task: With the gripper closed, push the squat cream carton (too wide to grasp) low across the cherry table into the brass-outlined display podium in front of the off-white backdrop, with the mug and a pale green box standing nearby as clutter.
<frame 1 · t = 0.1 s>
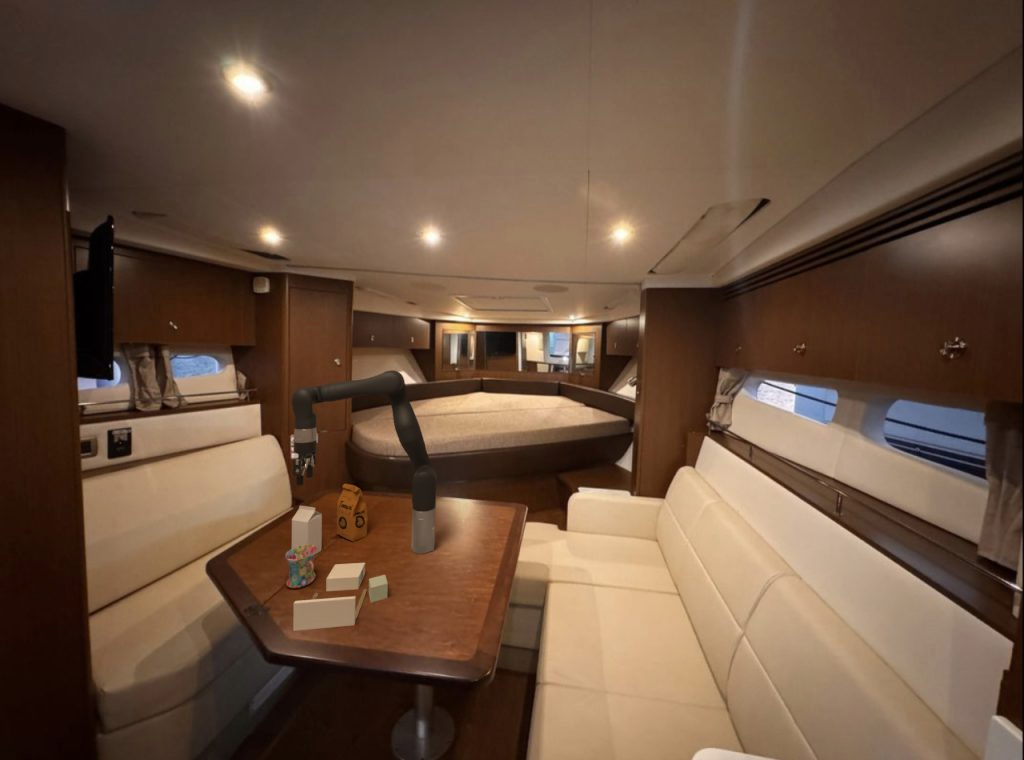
hand: (305, 481, 128), 29 cm above the table, fingers open, 8 cm apart
carton: (346, 583, 114), on the table
mug: (303, 584, 113), on the table
backdrop: (324, 626, 95), on the table
coffee package: (352, 535, 144), on the table
milk carton: (306, 554, 129), on the table
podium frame: (334, 607, 102), on the table
green box: (377, 595, 108), on the table
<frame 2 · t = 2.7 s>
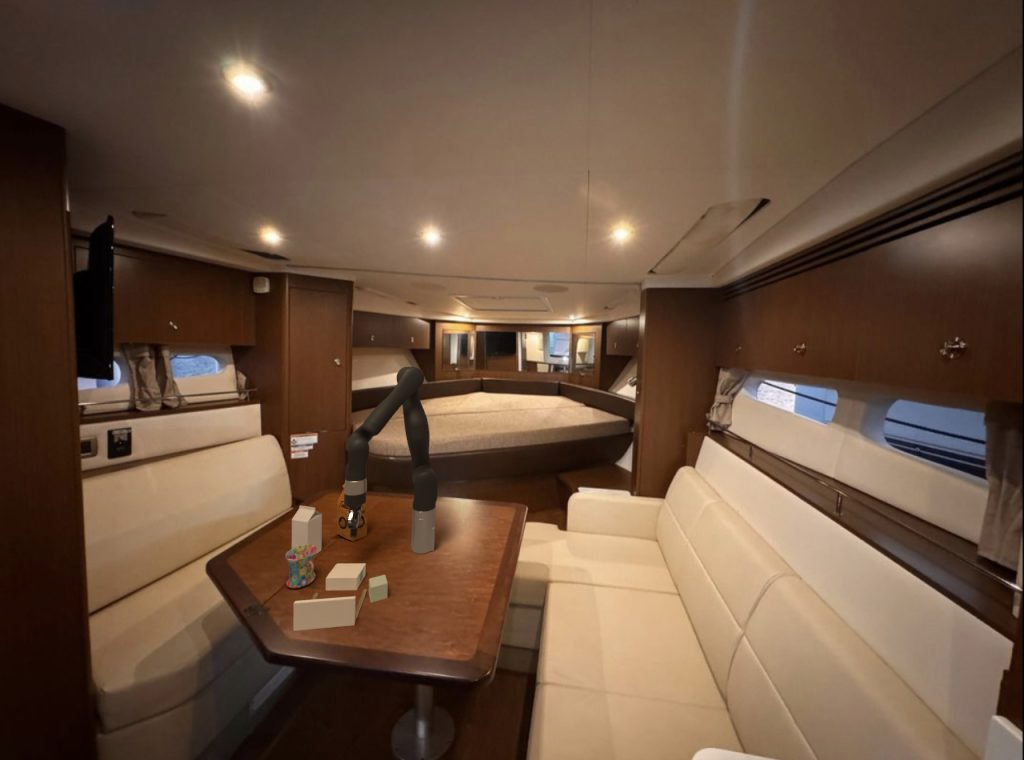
hand: (353, 536, 122), 11 cm above the table, fingers closed
nothing on the table moved.
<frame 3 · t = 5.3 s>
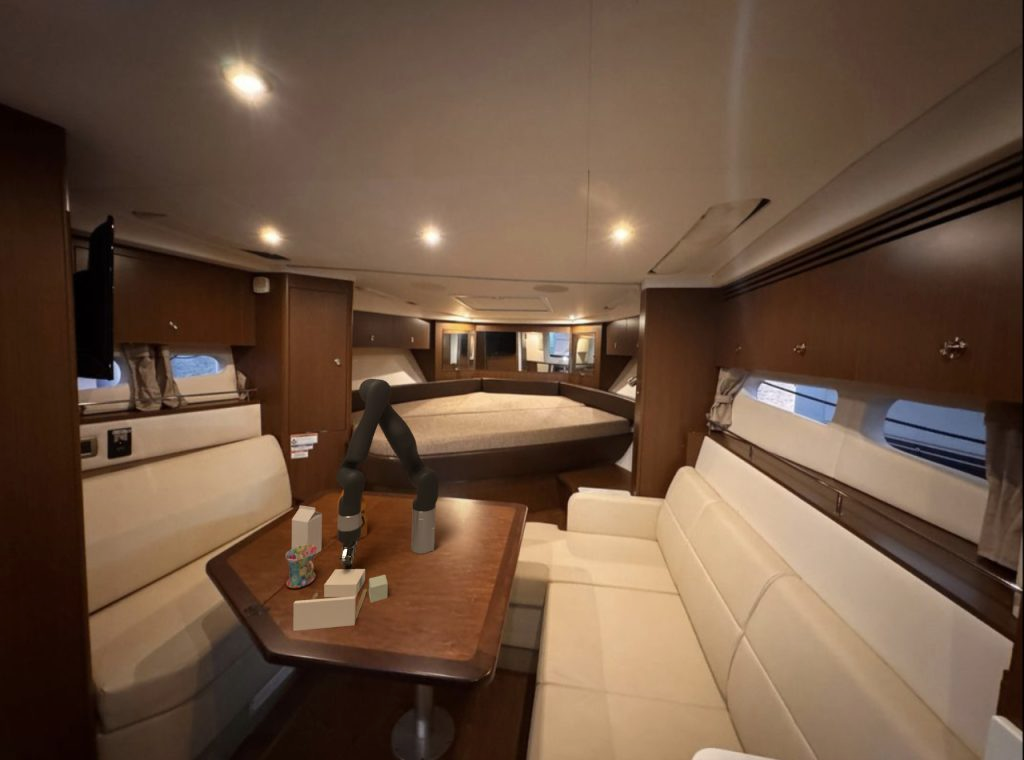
hand: (348, 572, 117), 1 cm above the table, fingers closed
carton: (345, 589, 111), on the table
everything else where it was.
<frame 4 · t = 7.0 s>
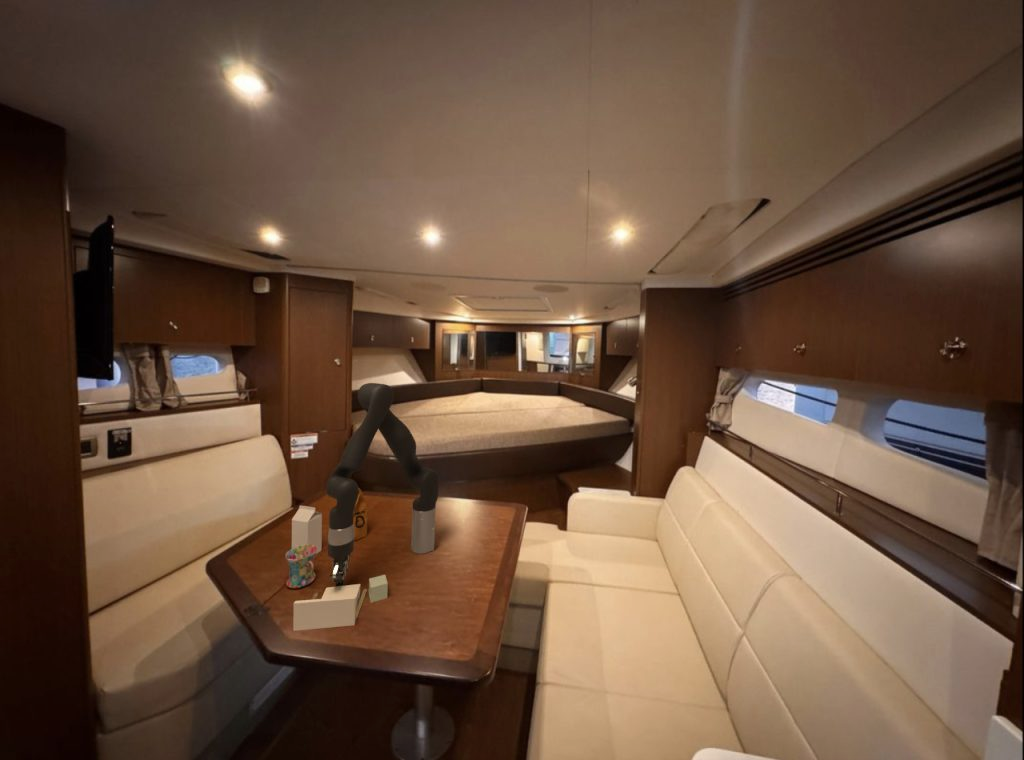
hand: (340, 589, 108), 1 cm above the table, fingers closed
carton: (340, 608, 103), on the table, touching gripper
everything else where it was.
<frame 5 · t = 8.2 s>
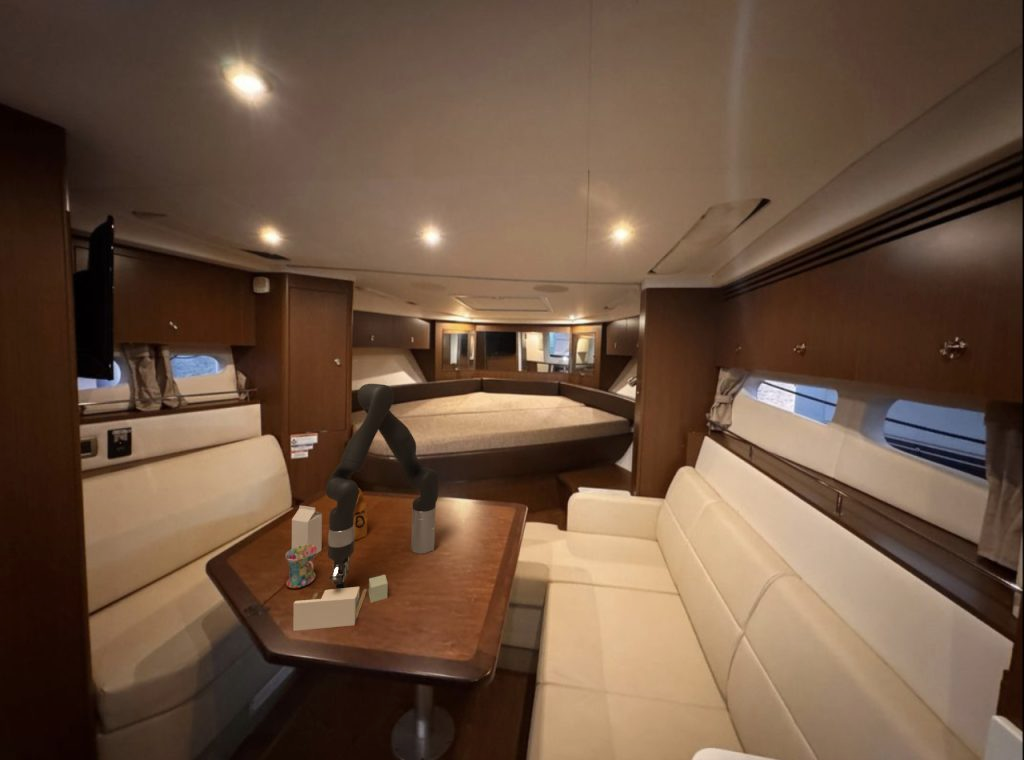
hand: (340, 591, 108), 1 cm above the table, fingers closed
carton: (338, 611, 101), on the table
everything else where it was.
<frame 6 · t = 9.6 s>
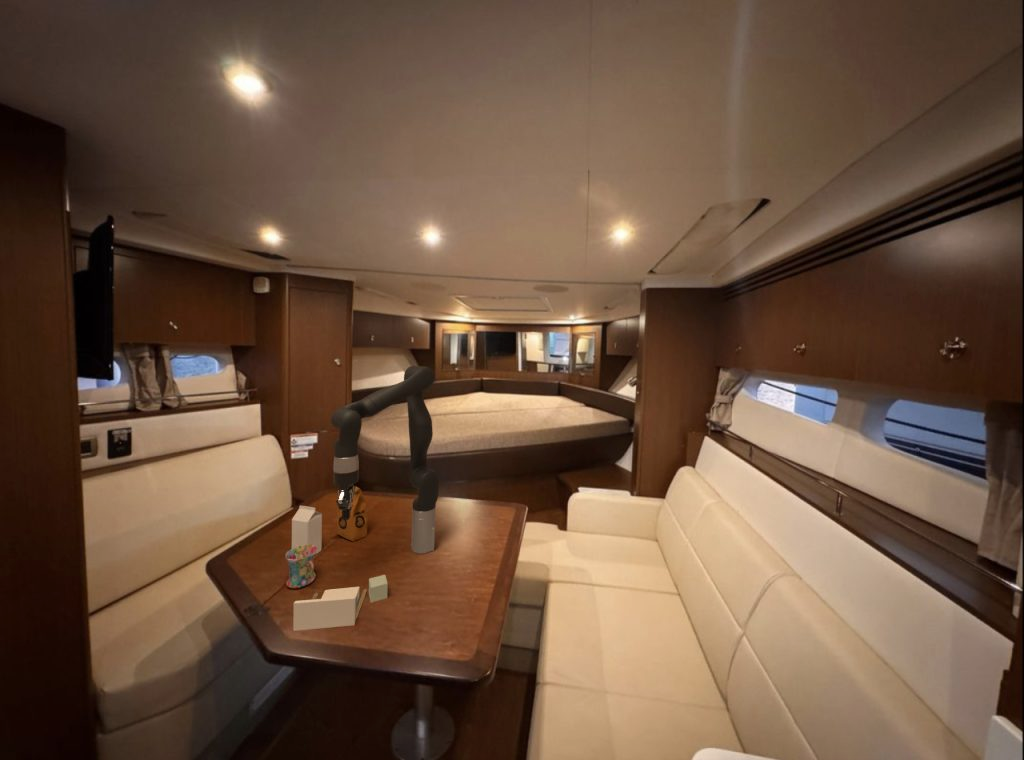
hand: (346, 518, 112), 23 cm above the table, fingers closed
nothing on the table moved.
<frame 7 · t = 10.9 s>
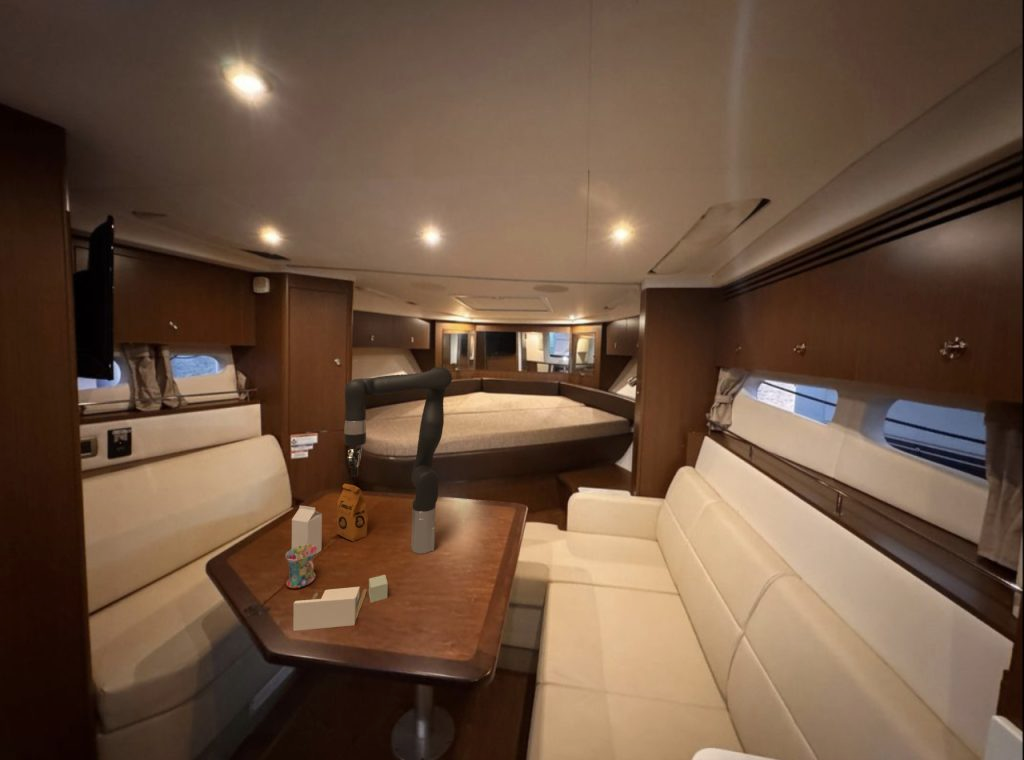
hand: (354, 476, 127), 32 cm above the table, fingers closed
nothing on the table moved.
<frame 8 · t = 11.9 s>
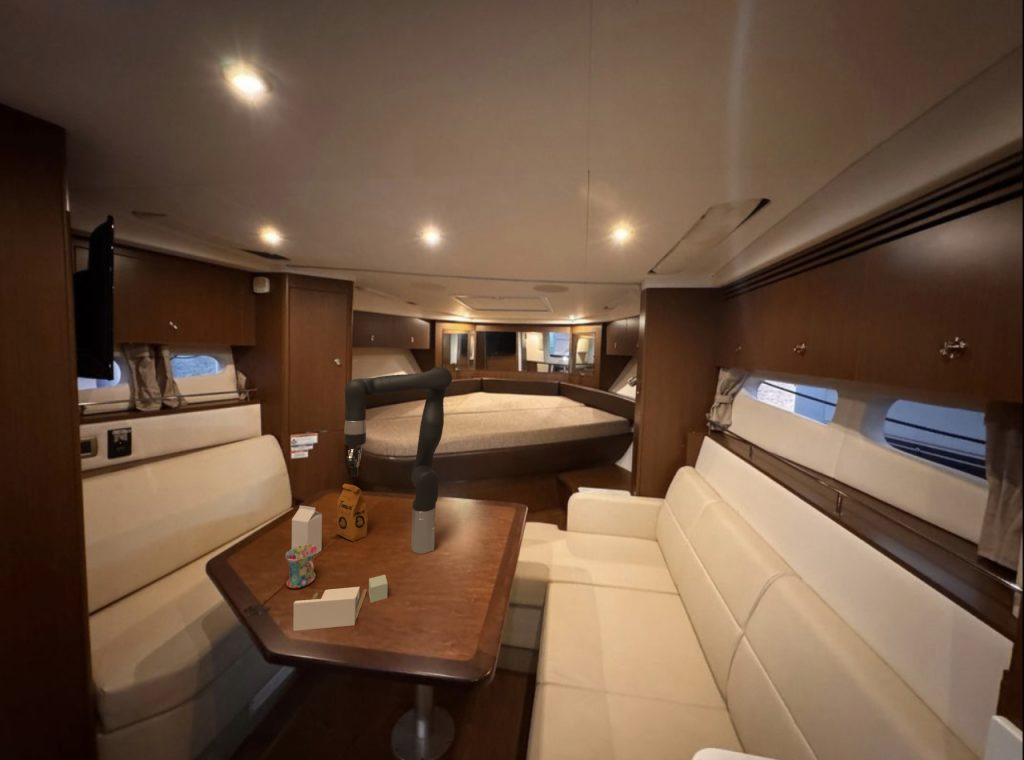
hand: (354, 476, 127), 32 cm above the table, fingers closed
nothing on the table moved.
at the end: carton inside the target area (1.9 cm from its centre), on the table; carton tilted 0° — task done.
